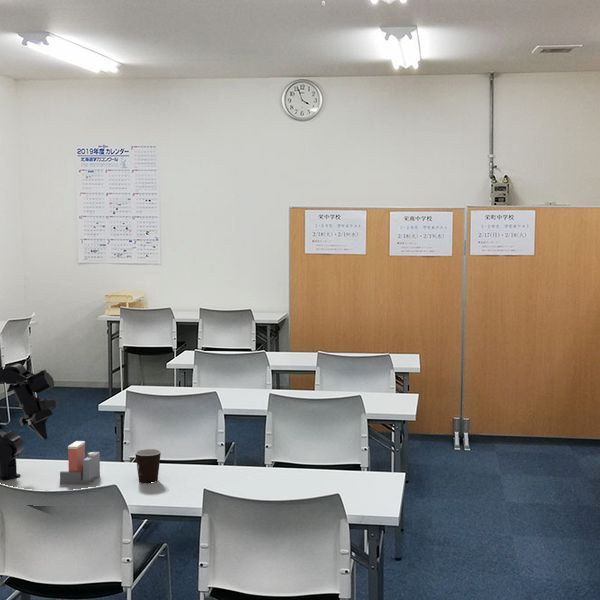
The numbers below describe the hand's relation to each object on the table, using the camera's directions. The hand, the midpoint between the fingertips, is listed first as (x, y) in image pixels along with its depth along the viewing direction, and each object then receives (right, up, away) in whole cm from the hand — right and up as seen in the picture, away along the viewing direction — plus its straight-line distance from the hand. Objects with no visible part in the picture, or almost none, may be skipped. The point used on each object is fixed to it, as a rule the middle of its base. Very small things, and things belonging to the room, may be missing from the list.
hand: (45, 439), depth 266 cm
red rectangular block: (+11, -12, -1) cm, 16 cm away
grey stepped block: (+12, -14, -1) cm, 18 cm away
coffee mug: (+36, -14, 0) cm, 39 cm away
